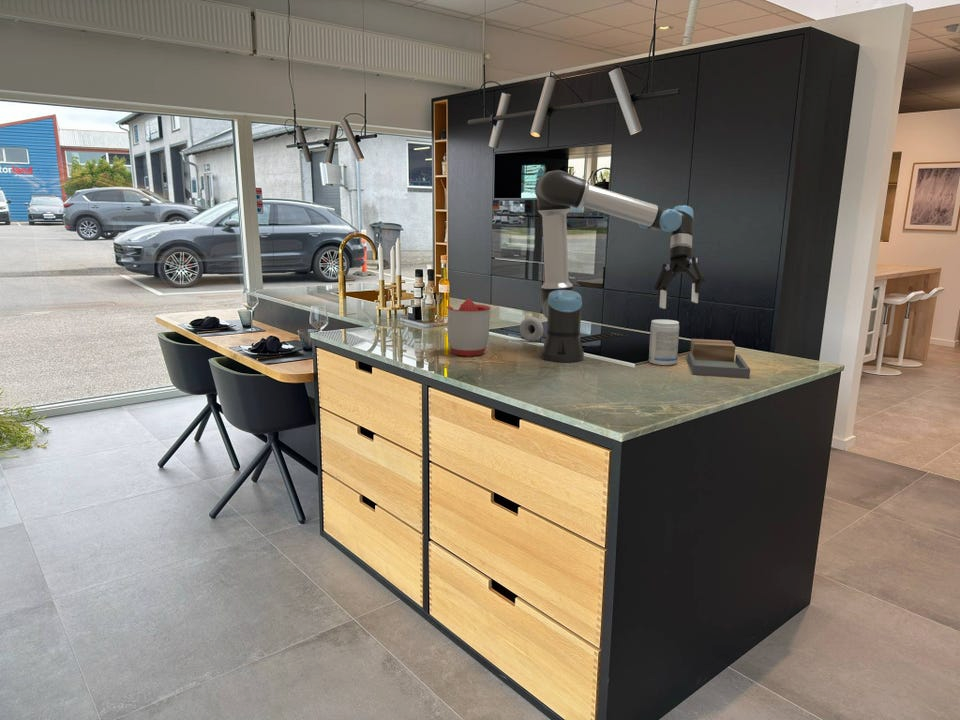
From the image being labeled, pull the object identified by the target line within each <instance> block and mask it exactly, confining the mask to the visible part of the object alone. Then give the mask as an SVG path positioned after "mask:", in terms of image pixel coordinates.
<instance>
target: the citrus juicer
mask: <svg viewBox="0 0 960 720" xmlns="http://www.w3.org/2000/svg"><path fill="white" fill-rule="evenodd" d="M446 309H447V316H446V317H447V321H446V323H447V326H446V327H447V328H446V331H447V340H448V344H449V348H450V351H451V353H452V354H454V355H458V356H464V357H473V356H481V355H484V353H485V351H486V349H487V345H488V341H489V336H490V312H491V311H490V309H491V307H490V306H489V305H484V304H475V302H473V300H472V299H470V298H467V299H466V300H464V302H463V303H461V304H460V307H459V308H458V309H454V308H453V307H452V306H451V305H447V306H446Z"/></svg>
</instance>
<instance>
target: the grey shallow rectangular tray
mask: <svg viewBox="0 0 960 720" xmlns="http://www.w3.org/2000/svg"><path fill="white" fill-rule="evenodd" d="M686 360H687V363H688V366H689V368H690V371H691V374H692V375H695V376H710V377H711V376H712V377H722V378H723V377H724V378H725V377H726V378H737V377H738V378H739V379H742V378H743V379H750V378H751V377H750V375H751V368H750V367H749V365H748V364H747V362H746V361H745V360H744V359H743V357H742V356H741V354H739V353H738V354H736V353H735V357H734V362H727V361H711V360H695V359H694V357H693V354H692V352H690V351H688V352H687V357H686Z"/></svg>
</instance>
